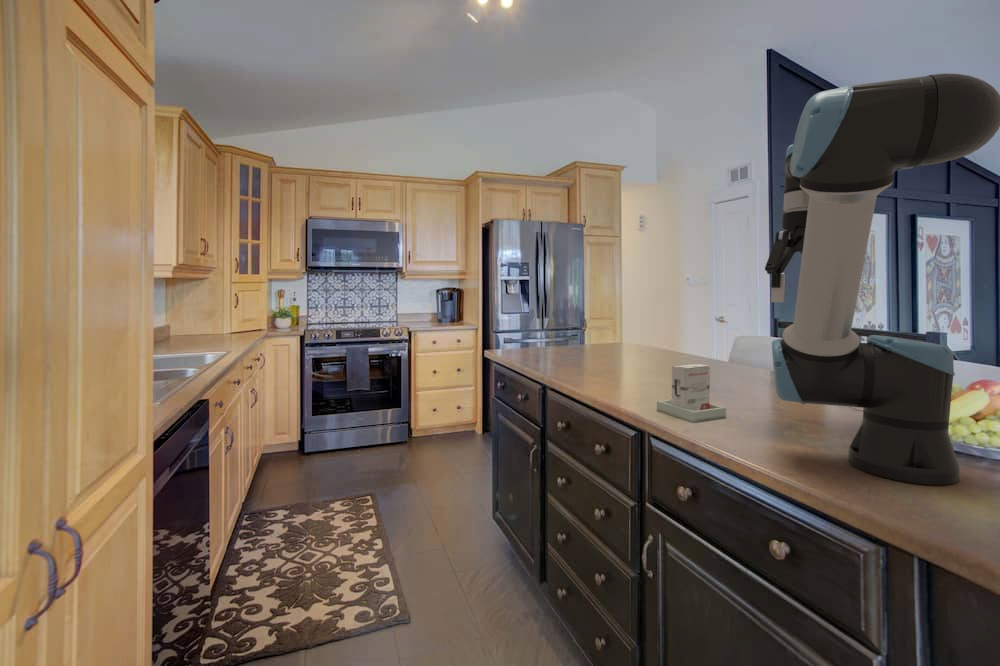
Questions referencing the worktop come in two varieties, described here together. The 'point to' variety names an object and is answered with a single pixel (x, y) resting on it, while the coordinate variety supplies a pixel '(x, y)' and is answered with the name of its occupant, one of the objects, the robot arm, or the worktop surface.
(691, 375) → the ink box
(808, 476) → the worktop surface
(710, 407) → the pale green tray
